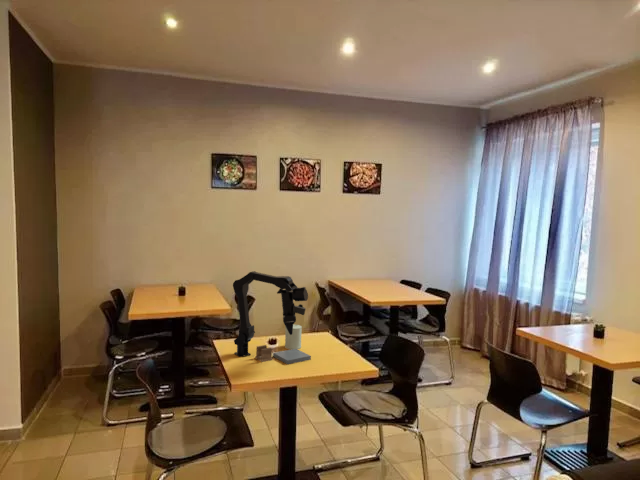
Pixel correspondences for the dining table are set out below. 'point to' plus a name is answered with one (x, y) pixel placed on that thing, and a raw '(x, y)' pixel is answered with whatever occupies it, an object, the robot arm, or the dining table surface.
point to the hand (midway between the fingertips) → (290, 332)
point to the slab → (291, 356)
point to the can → (293, 338)
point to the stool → (263, 353)
